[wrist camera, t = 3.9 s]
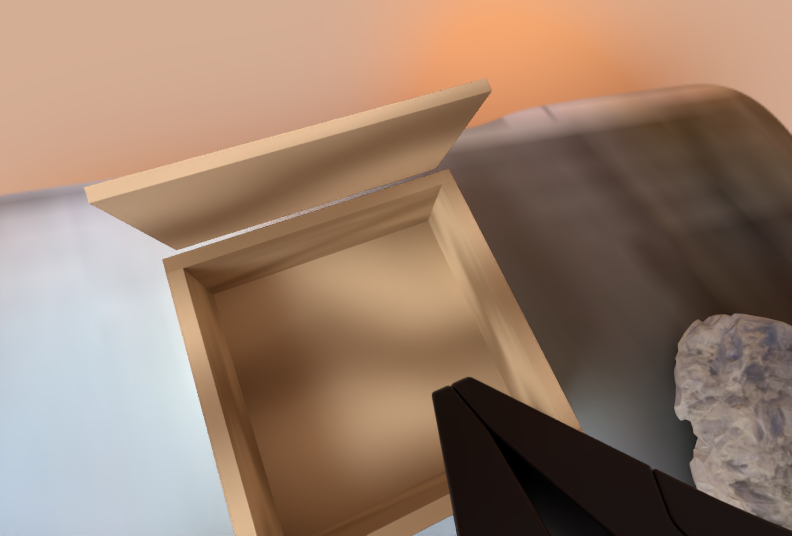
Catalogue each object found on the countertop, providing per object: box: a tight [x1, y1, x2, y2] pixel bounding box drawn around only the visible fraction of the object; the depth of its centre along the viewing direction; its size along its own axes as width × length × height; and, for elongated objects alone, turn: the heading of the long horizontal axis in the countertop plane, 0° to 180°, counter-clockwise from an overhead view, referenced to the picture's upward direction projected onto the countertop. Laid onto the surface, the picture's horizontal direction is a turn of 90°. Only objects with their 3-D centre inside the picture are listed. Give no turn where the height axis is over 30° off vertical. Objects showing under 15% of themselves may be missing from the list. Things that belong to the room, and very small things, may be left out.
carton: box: [162, 169, 584, 536], centre depth 17 cm, size 12×12×4 cm
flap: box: [84, 78, 491, 250], centre depth 14 cm, size 6×11×1 cm
